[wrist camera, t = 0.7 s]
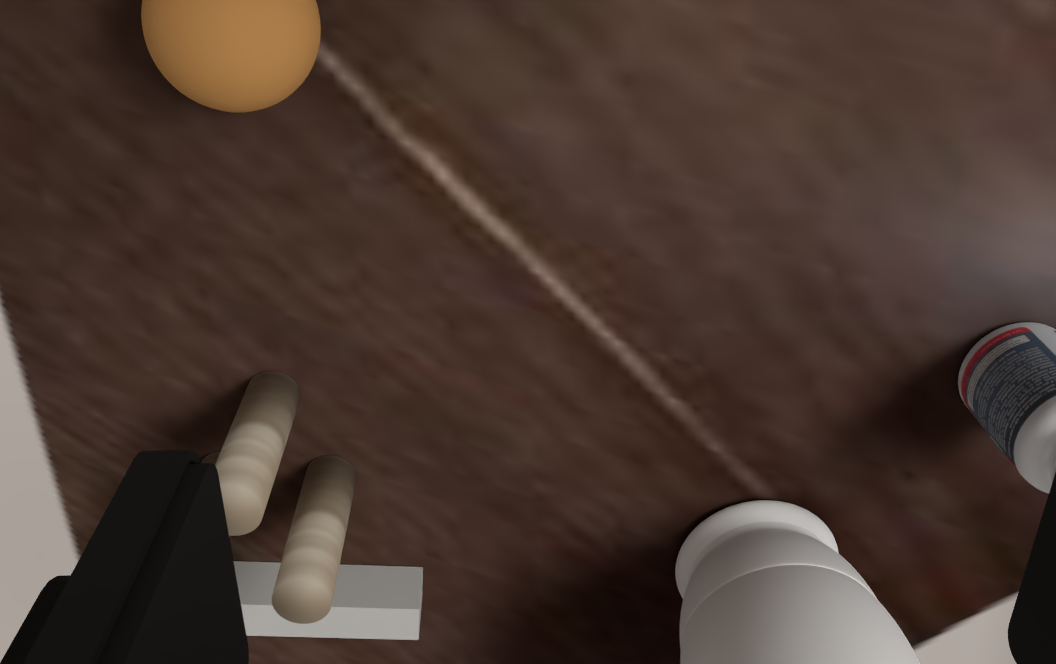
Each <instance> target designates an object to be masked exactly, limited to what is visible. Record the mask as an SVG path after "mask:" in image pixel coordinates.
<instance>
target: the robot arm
mask: <svg viewBox="0 0 1056 664" xmlns="http://www.w3.org/2000/svg"><path fill="white" fill-rule="evenodd" d="M1008 641H1009V646H1010V650H1011V653H1012V655H1013V657H1014V659H1015V661H1016V663H1017V664H1056V472H1055V476H1054V479H1053V482H1052V486H1051V489H1050V492H1049V495H1048V499H1047V502H1046V505H1045V508H1044V512H1043V515H1042V518H1041V521H1040V525H1039V528H1038V531H1037V534H1036V538H1035V541H1034V544H1033V547H1032V551H1031V554H1030V557H1029V561H1028V564H1027V567H1026V570H1025V574H1024V577H1023V580H1022V583H1021V587H1020V590H1019V593H1018V596H1017V600H1016V603H1015V606H1014V610H1013V613H1012V616H1011V619H1010V623H1009V628H1008ZM248 660H249V651H248V642H247V636H246V630H245V625H244V619H243V613H242V607H241V602H240V596H239V590H238V584H237V579H236V573H235V567H234V561H233V556H232V550H231V544H230V538H229V533H228V527H227V521H226V515H225V510H224V504H223V498H222V492H221V487H220V481H219V475H218V471H217V468H216V466H215V465H214V464H213V463H201V462H200V458H199V456H198V454H197V453H196V452H195V451H193V450H174V451H142V452H139V453H138V454H137V455H136V457H135V458H134V460H133V462H132V464H131V465H130V467H129V469H128V471H127V473H126V475H125V476H124V478H123V480H122V482H121V484H120V486H119V487H118V489H117V491H116V493H115V495H114V497H113V499H112V500H111V502H110V504H109V506H108V508H107V510H106V511H105V513H104V515H103V517H102V519H101V521H100V523H99V524H98V526H97V528H96V530H95V532H94V534H93V535H92V537H91V539H90V541H89V543H88V545H87V547H86V548H85V550H84V552H83V554H82V556H81V558H80V559H79V561H78V563H77V565H76V567H75V569H74V571H73V572H72V574H71V576H57V577H55V578H53V579H52V580H50V581H49V582H48V583H47V584H46V586H45V587H44V588H43V590H42V591H41V592H40V594H39V596H38V598H37V599H36V601H35V603H34V605H33V606H32V608H31V610H30V612H29V614H28V615H27V617H26V619H25V620H24V622H23V624H22V626H21V627H20V629H19V631H18V633H17V635H16V636H15V638H14V640H13V642H12V643H11V645H10V647H9V649H8V650H7V652H6V654H5V656H4V657H3V659H2V661H1V663H0V664H248Z"/></svg>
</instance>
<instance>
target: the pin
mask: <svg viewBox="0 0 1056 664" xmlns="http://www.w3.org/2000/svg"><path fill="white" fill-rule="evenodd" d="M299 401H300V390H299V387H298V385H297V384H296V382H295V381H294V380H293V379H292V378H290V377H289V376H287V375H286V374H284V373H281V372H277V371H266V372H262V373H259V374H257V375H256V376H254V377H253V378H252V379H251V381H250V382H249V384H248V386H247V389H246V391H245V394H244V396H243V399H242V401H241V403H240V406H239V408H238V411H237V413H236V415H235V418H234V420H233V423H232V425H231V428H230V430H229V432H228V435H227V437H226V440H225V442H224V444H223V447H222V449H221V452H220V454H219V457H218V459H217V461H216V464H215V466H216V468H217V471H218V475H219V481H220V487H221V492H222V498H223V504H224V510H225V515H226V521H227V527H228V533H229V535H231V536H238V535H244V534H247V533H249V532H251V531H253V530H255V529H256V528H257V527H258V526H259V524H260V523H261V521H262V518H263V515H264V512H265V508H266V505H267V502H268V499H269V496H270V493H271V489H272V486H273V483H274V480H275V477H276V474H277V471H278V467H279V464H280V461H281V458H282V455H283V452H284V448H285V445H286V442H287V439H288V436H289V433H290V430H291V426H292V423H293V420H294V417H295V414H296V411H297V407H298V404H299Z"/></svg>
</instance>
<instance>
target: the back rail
mask: <svg viewBox="0 0 1056 664" xmlns="http://www.w3.org/2000/svg"><path fill="white" fill-rule="evenodd" d="M280 565H281V563H274V562H242V561H234V567H235V573H236V579H237V584H238V590H239V596H240V602H241V607H242V613H243V619H244V625H245V630H246V635H248V636H286V637H324V638H362V639H400V640H419V628H420V617H421V605H422V585H423V567H404V566H372V565H339V570H338V575H337V580H336V585H335V590H334V595H333V600H332V606H331V609H330V611H329V613H328V614H327V615H326V616H325V617H324V618H323V619H321V620H319V621H317V622H314V623H309V624H298V623H293V622H290V621H288V620H286V619H284V618H282V617H281V616H280V615H278V613H277V612H276V611H275V610H274V608H273V605H272V594H273V590H274V587H275V583H276V579H277V576H278V572H279V569H280Z"/></svg>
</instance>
